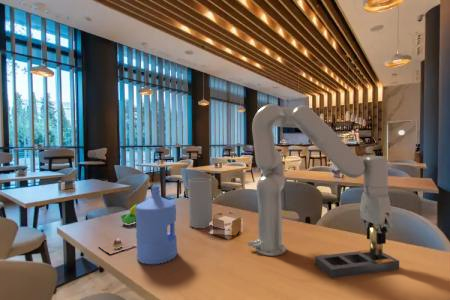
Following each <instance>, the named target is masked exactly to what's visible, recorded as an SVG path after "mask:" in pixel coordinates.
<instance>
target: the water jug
mask: <svg viewBox="0 0 450 300" xmlns="http://www.w3.org/2000/svg"><path fill="white" fill-rule="evenodd" d="M160 192H161V190H160V186H159V185H155V186H151V197H149V198H148V199H147V198H146V200H144V201H142V202H140V203H138V205H137V206H136V224H135V226H136V230H135V231H136V232H135V234H136V235H135V238H136V245H137V246H136V259H137V261H138V262H139V263H141V262H142V263H141V264H144V263H145V264H144V265H160V263H161V264H165V263H167V261H168V262H169V261H171V259H172V260H173V259H174V258H175V257H176V256H177V254H178V246H177V245H178V244H177V243H178V242H177V240H178V239H177V235H176V232H175V230H176V228H175V227H176V225H175V222H176V221H177V207H176V206H177V204H176V203H175V202H174V201H173V200H170V199H167V198H165V197H161V195H160V194H161V193H160ZM168 227H170V228H169V230H170V231H169V232H168ZM164 262H165V263H164Z"/></svg>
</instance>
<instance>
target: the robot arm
mask: <svg viewBox="0 0 450 300" xmlns="http://www.w3.org/2000/svg"><path fill="white" fill-rule="evenodd" d="M251 125H252V127H251V131H252V139H253V148H254V157H255V158H254V159H255V163H256V166H257V168H258V169H260V170H261V172H262V176H261V177H260V178H259V179H258V181H257V184H256V195H257V207H258V211H257V212H258V237H256V239H255V240H248V241H247V246H248V247H252V248H254V250H255V251H256V252H257V253H259V254H260V255H262V256H263V255H264V256H269V257H270V256H271V257H273V256H274V257H276V256H281V255H283V254H285V253H286V251H287V247H286V245H284V244H283V223H282V222H283V221H282V220H283V218H282V217H283V216H282V215H283V214H282V196H281V195H282V194H281V193H282V192H281V191H282V190H283V189H284V187H285V181H286V180H285V173H284V172H285V171H284V165H283V157H282V155H281V153H280V151H279V150H278V149H276V146H275V145H276V144H275V136H274V131H273V128H274V127H278V128H279V127H280V128H295V129H296V128H297V129H298V130H300V132H301V133H303V134H304V135H305V136H306V138H307V139H308V140H309V141H310V142H311V143H312V144H313V145H314V146H315V147H316V148H317V149H318V150H319V151H320V152H321V153H322V154H324V156H326V157H327V159H328V160H330V162H331V163H332V164H334V166H335V167H336V168H337V169H338V170H339V171H340V172H341V173H342V174H343V175H344V176H345V177H347V178H350V179H357V178H359V177H360V178H361V176H363V192H362V193H361V194H362V195H361V198H360V205H359V206H360V209H359V215H360V218H361V219H362V220H363V223H364V225H365V228H366V239H367V240H370V226H377V228H378V233H377V244H383V245H384V244H386V241H387V238H386V234H387V233H388V232H389V231H390V230H392V229H394V225H393V223H392V207H391V206H392V205H391V201H390V196H389V163H388V158H387V157H386V156H382V155H372V156H371V155H370V156H360V155H357V154H356V153H355V151H353V150H352V149H351V148H350V147H349V146H348V145H347V144H346V143H345V142H344V140H342V139H341V138H340V137H339V135H338V134H337V132H335V131H334V130H333V129H332V128H331V127H330V126H329V125H328V124H327V123H326V122H325V121H324V120H323V119H322V118H321V117H320V116H319V115H318V114H317V113H316V112H315V111H314V110H313V109H312V108H311V107H309V106H308V105H305V104H303V105H298V106H297V107H282V106H280V105H277V104H274V103H268V104H266V105H264V106H262V107H261V108H260V109H259V110H257V112H256V113H255V115H254V117H253V119H252V123H251Z"/></svg>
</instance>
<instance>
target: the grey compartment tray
mask: <svg viewBox="0 0 450 300" xmlns="http://www.w3.org/2000/svg"><path fill="white" fill-rule="evenodd" d="M314 265H315V266H316V267H317V268H318V269H320V271H322V272H324V274H326V275H327V276H328V277H329V278H330V279H332V280H333V279H339V278H347V277H353V276H362V275H368V274H369V275H370V274H375V273H382V272H388V271H389V272H390V271H391V272H392V271H397V270H400V260H399V259H396V258H395V257H393V256H391V255H389V254H387V253H385V252H383V254H382V255H376V254H372V253H370V249H364V250H358V251H350V252H341V253H334V254H332V253H331V254H324V255H317V256H314Z"/></svg>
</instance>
